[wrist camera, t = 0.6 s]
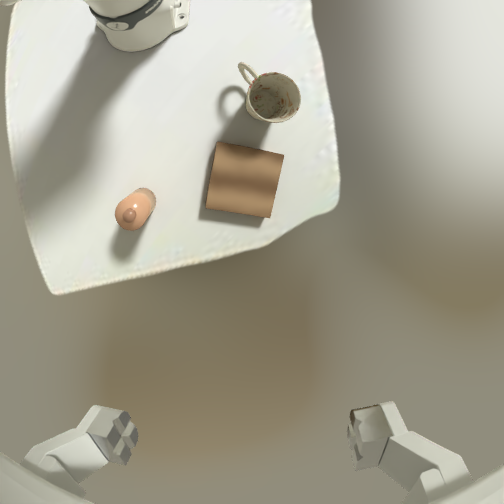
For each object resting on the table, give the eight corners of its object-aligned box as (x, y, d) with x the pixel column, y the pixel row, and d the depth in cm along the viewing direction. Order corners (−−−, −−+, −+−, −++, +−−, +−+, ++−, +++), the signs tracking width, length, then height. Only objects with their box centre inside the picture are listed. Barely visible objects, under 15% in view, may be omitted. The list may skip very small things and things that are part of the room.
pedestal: (216, 141, 48) (217, 141, 45) (279, 154, 51) (284, 155, 48) (205, 204, 52) (205, 208, 49) (266, 214, 55) (270, 218, 52)
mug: (257, 134, 49) (270, 132, 40) (215, 84, 44) (218, 71, 35) (292, 109, 48) (311, 103, 39) (251, 60, 43) (262, 43, 34)
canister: (131, 186, 48) (114, 198, 38) (157, 189, 50) (146, 201, 39) (128, 213, 50) (112, 230, 40) (154, 216, 51) (143, 234, 41)
